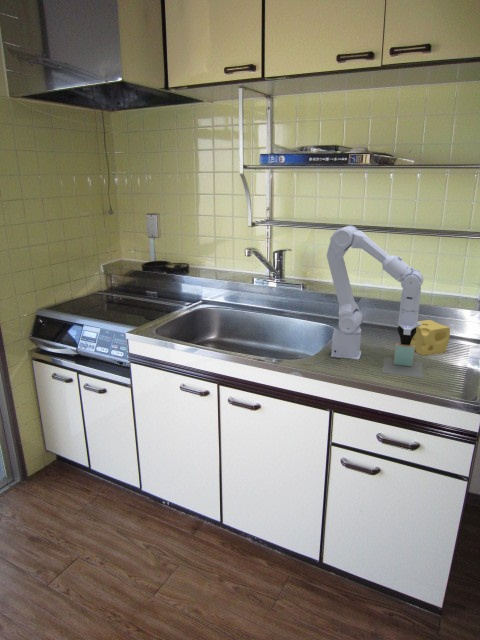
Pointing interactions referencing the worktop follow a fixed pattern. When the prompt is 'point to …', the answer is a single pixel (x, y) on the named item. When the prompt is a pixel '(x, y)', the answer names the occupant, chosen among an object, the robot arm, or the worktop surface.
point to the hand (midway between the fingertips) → (404, 349)
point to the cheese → (431, 338)
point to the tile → (404, 355)
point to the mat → (403, 368)
